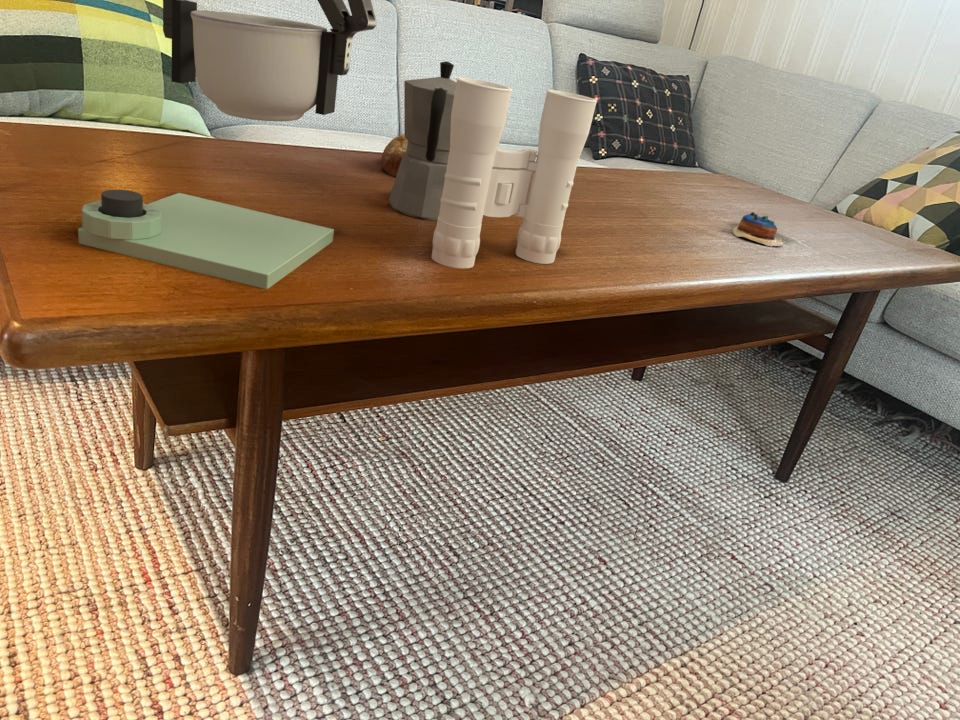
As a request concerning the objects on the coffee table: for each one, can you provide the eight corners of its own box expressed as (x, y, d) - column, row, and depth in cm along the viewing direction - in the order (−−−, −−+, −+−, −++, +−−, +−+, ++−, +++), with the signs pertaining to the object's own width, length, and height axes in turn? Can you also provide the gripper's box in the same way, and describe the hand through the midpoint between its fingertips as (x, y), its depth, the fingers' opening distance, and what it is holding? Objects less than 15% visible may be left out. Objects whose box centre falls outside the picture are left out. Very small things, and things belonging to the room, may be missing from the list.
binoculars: (537, 248, 88) (572, 92, 80) (567, 264, 84) (607, 102, 77) (417, 253, 77) (445, 75, 70) (446, 271, 74) (478, 85, 66)
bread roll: (417, 189, 118) (407, 139, 117) (467, 178, 112) (457, 125, 110) (375, 194, 110) (364, 140, 109) (426, 182, 104) (415, 125, 103)
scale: (67, 244, 62) (65, 210, 60) (173, 204, 77) (174, 176, 75) (264, 292, 60) (266, 258, 59) (332, 242, 75) (335, 214, 74)
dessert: (724, 228, 115) (745, 198, 115) (728, 247, 121) (749, 218, 121) (770, 248, 111) (792, 217, 111) (772, 267, 117) (793, 237, 117)
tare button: (93, 214, 62) (92, 194, 61) (116, 206, 65) (116, 187, 64) (128, 222, 62) (128, 202, 61) (150, 214, 64) (150, 195, 64)
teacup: (343, 131, 63) (351, 31, 60) (219, 123, 56) (221, 10, 53) (273, 105, 72) (277, 17, 69) (160, 95, 66) (158, -2, 63)
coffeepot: (393, 191, 99) (413, 50, 92) (461, 204, 100) (486, 65, 92) (378, 221, 85) (400, 58, 78) (457, 235, 86) (486, 75, 78)
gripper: (436, -157, 57) (399, 122, 67) (144, -213, 59) (147, 66, 68) (413, -183, 51) (375, 131, 60) (84, -245, 52) (96, 69, 61)
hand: (253, 97), depth 64 cm, fingers closed on teacup, 12 cm apart
